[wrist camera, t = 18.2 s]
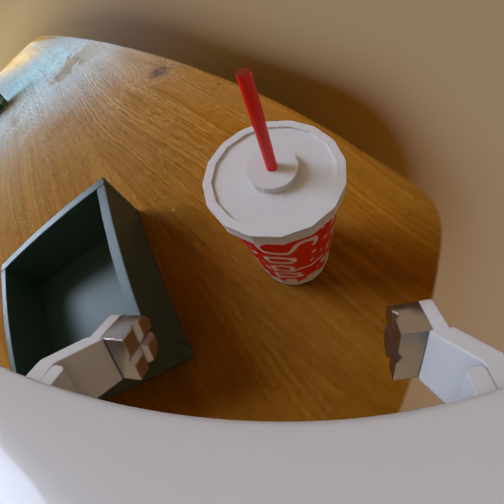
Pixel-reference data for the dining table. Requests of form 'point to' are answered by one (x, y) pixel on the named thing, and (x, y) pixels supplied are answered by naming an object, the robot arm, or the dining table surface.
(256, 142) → the beverage cup
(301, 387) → the dining table surface
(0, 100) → the canned tomato
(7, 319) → the bin
